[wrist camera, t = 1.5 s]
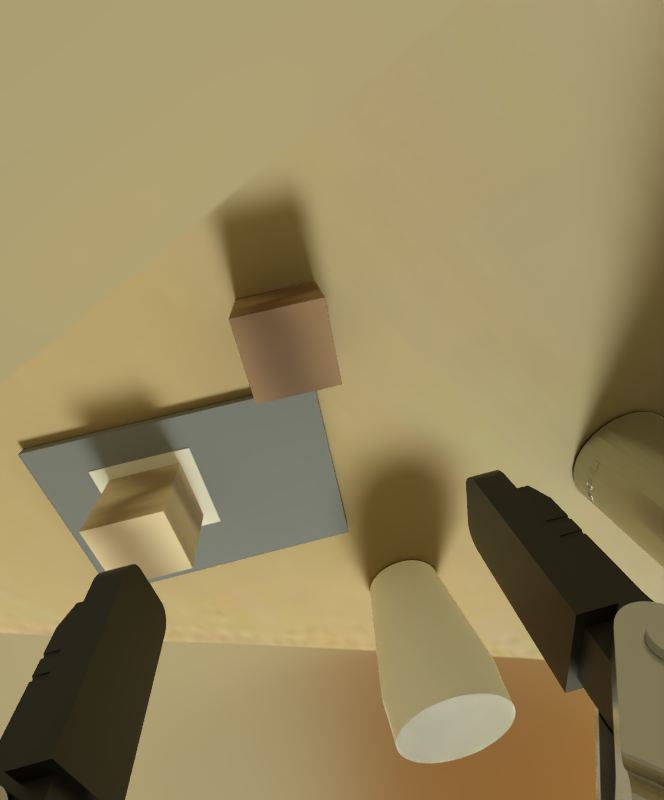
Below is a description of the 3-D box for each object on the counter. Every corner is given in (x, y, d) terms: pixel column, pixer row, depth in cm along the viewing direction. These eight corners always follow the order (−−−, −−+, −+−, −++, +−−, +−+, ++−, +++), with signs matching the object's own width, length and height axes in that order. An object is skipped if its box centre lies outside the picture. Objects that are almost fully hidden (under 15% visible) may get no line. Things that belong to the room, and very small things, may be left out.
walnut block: (314, 281, 25) (324, 297, 20) (329, 355, 27) (342, 384, 22) (235, 299, 24) (228, 319, 20) (257, 372, 27) (256, 404, 22)
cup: (344, 571, 36) (377, 723, 25) (436, 535, 36) (508, 674, 25) (373, 626, 40) (411, 777, 30) (456, 595, 40) (525, 736, 29)
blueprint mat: (312, 380, 27) (314, 384, 27) (347, 526, 34) (348, 532, 33) (23, 449, 26) (17, 455, 26) (114, 586, 33) (111, 593, 32)
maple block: (179, 462, 28) (163, 511, 23) (203, 514, 30) (192, 568, 26) (109, 479, 28) (79, 532, 23) (138, 531, 30) (116, 587, 25)
